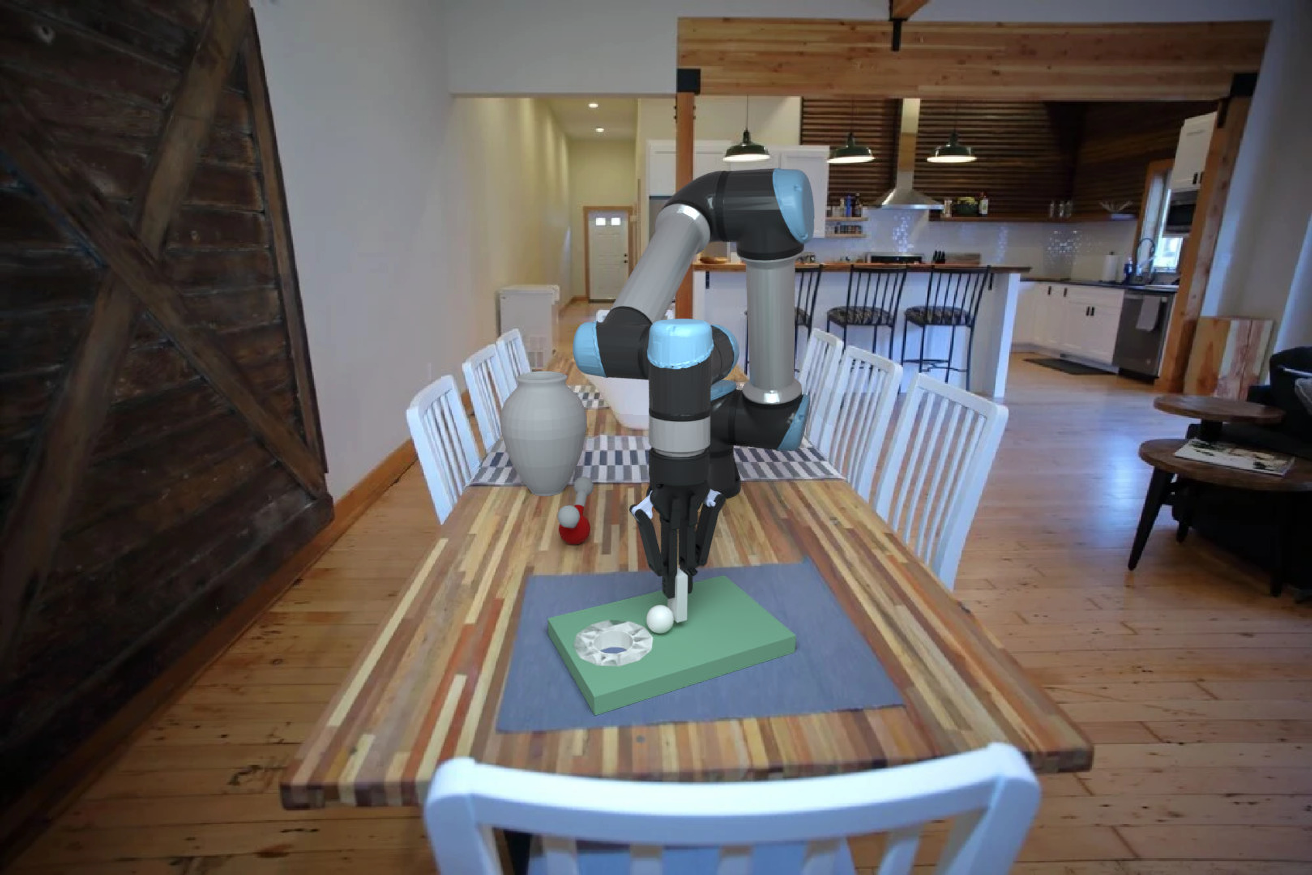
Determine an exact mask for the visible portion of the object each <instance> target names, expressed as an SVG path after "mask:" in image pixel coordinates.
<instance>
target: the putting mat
mask: <svg viewBox="0 0 1312 875" xmlns="http://www.w3.org/2000/svg"><path fill="white" fill-rule="evenodd" d="M657 605H664V606H666V607H668V598H667V597H666V596H665V595H664V594H663V592H662V590H658V591H654V592H650V593H645V594H641V595H638V596H634V597H629V598H624V599H621V600H617V601H613V602H610V603H604V604H601V605H597V606H591V607H588V608H585V609H580V610H576V611H573V612H567V613H564V614H560V615H555V616H551V617H548V618H547V629H548V632H547V633H548V634H547V635H548V636H549V638H550V640H551V641H552V643H553V645H554V647H555V648H556V650H557V653H559V656H560V657H561V659H562V660H563V662H564V664H565V666H566V667H567V669H568V671H569V673H570V675H571V676H572V678H573V680H574V682H575V683H576V685H577V687H578V689H579V690H580V692H581V694H582V696H583V697H584V699H585V701H586V703H587V705H588V706H589V708H590V710H591V712H592V713H593V715H594V716H598V715H601V714H604V713H608V712H610V711H613V710H617V709H620V708H623V707H626V706H630V705H632V704H633V705H634V704H636V703H639V702H642V701H646V700H648V699H651V698H655V697H658V696H661V695H664V694H667V693H670V692H673V691H678V690H680V689H684V688H686V687H690V686H693V685H696V684H699V683H702V682H705V681H708V680H712V679H714V678H718V677H720V676H724V675H728V674H730V673H734V672H736V671H739V670H743V669H747V668H749V667H753V666H756V665H759V664H762V663H765V662H768V661H771V660H775V659H778V658H781V657H784V656H787V655H788V656H789V655H791V654H794V653H796V644H797V643H796V642H797V641H796V640H797V635H796V634H795V633H794V632H792V631H791V630H790V629H789V628H788V627H786V625H784V624H783V623H782V622H781V621H779V620H778V619H777V618H776V617H775V616H773V614H772V613H770V612H768V611H767V610H766V609H765V608H764V607H762V605H761V604H759V603H758V602H757V601H756V600H754V598H752V597H751V596H750V595H748V593H747V592H745V591H744V590H743V589H741V587H739V586H738V585H737V584H735V582H733V581H732V580H731V579H730V578H728V576H726V575H725V574H723V575H718V576H715V577H711V578H706V579H702V580H697V581H693V590H692V593H690V594H687V620H685V621H681V622H678V623H677V622H676V621H675V620H674V623H673V626H672V627H671V629H670V630H669V631H667V632H665V633H655V632H653V631H652V630H651V629H650V628H649V627H648V625H647V620H646V618H647V614H648V612H649V610H650V609H651V608H652V607H654V606H657ZM609 648H610V649H611V648H622V649H623V650H625V651H621V652H618V653H611V652H610V653H609V652H607V653H606V652H603V651H604V650H605V649H609Z"/></svg>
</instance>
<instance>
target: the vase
mask: <svg viewBox="0 0 1312 875" xmlns="http://www.w3.org/2000/svg"><path fill="white" fill-rule="evenodd" d="M567 379H568V375H567V374H566V373H565V374H564V373H563V372H558V371H549V370H546V371H545V370H542V371H541V370H539V371H529V372H525V373H524V372H523V373H521V374H520V375H517V376H516V377H515V381H516V382H517V387H516V388H515V389H514V390H513V391H512V392H511V393H510V395H509V396H507V398H506V399H505V401H504V402H503V406H502V408H501V411H500V420H499V422H500V433H501V436H502V439H503V443H504V446H505V449H506V453H507V455H508V458H509V461H510V462H511V464H512V465H513V468H514V470H515V471H516V473H517V475H518V476H519V479H520V480H521V482H523V485H525V487H527V489H529V491H530V492H531V494H533V495H535V496H539V497H551V496H556V495H559V494H562V493H563V492H564V490H565V488H566V487H567V486H568V484H569V483H570V481H571V480H572V477H573V476H574V473H575V471H576V469H577V468H578V467H577V466H578V464H579V462H580V459H581V456H582V453H583V448H584V443H585V440H586V439H585V437H586V432H587V427H588V419H587V418H588V417H587V413H586V408H585V406H584V403H583V401H582V399H581V397H580V396H579V395H577V393H576V392H574V391H573V389H572V388H570V387H569V386H568V385H567V383H566V381H567Z"/></svg>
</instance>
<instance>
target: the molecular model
mask: <svg viewBox="0 0 1312 875" xmlns="http://www.w3.org/2000/svg"><path fill="white" fill-rule="evenodd" d="M594 488H595V486H594V482H593V481H592V479H591V478H590V477H587V476H580V477H578V478H577V479H575V481H574V484H573V490H574V493H575V494H576V497H575V502H574V505H570V504H568V505H564V506H562V507H561V508H560V509H559V510H558V512H557V516H556V518H557V521H558V523H559V525H558V533H559V534H558V535H559V536H560V539H562V540H563V542H565V543H566V544H569V545H575V546H576V545H579V544H580V545H581V544H582V543H584V542H585V541H587V539H588V538H589V536H590V533H591V524H590V521H589V519H588V518H587V516H585V515H584V512H585V506H586V501H587V497H588V496H590V495H591V494H592V493H593V492H594V491H593V490H594Z"/></svg>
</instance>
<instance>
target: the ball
mask: <svg viewBox="0 0 1312 875" xmlns="http://www.w3.org/2000/svg"><path fill="white" fill-rule="evenodd" d="M646 620H647V625H648V627H649V628H650V629H651V630H652V631H653V632H655V633H665V632H667V631H669V630H670V629H671V627H672V626H673V623H674V616H673V613H672V611H671V610H670V609H669V608H668V607H666V606H664V605H657V606H654V607H652V608H651V609H650V610H649V612H648V614H647V618H646Z"/></svg>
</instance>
